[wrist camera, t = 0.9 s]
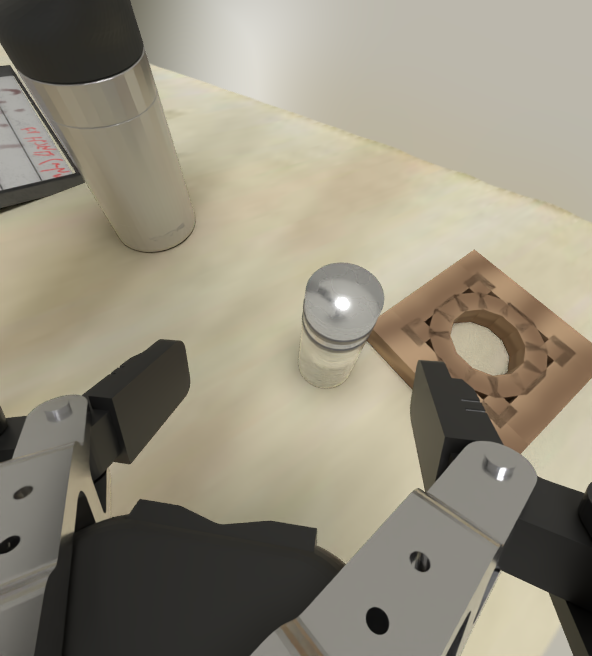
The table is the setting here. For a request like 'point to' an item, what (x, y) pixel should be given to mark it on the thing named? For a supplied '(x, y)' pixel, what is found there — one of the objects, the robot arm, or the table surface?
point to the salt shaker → (337, 321)
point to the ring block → (510, 326)
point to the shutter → (28, 149)
